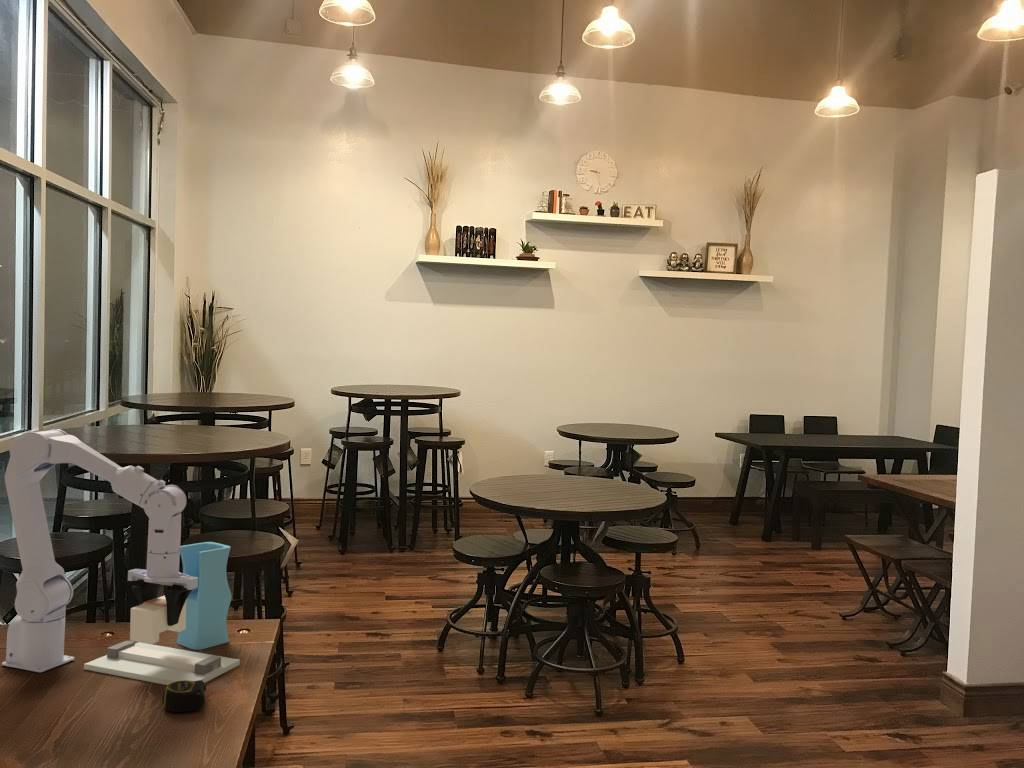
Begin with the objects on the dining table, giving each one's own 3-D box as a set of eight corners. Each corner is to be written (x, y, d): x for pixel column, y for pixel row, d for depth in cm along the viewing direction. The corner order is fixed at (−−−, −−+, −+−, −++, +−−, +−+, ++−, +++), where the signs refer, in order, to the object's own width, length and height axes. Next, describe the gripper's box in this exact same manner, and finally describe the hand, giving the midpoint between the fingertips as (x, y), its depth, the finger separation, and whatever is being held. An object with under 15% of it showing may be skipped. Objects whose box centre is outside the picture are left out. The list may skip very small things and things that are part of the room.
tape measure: (203, 714, 138) (205, 692, 138) (159, 717, 136) (160, 695, 136) (205, 698, 144) (206, 677, 144) (163, 701, 142) (164, 679, 142)
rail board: (83, 669, 154) (84, 654, 154) (138, 647, 168) (139, 633, 168) (191, 689, 147) (192, 674, 147) (239, 664, 161) (240, 650, 161)
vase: (173, 642, 172) (177, 546, 172) (206, 633, 178) (210, 541, 178) (196, 650, 167) (201, 552, 167) (229, 641, 174) (233, 546, 174)
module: (130, 640, 153) (130, 606, 152) (164, 625, 161) (165, 593, 161) (152, 644, 151) (152, 610, 151) (185, 629, 160) (186, 596, 160)
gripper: (116, 550, 155) (113, 622, 155) (181, 559, 151) (177, 633, 151) (144, 544, 162) (141, 613, 162) (206, 552, 157) (203, 623, 157)
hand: (160, 622), depth 157 cm, fingers closed on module, 5 cm apart
